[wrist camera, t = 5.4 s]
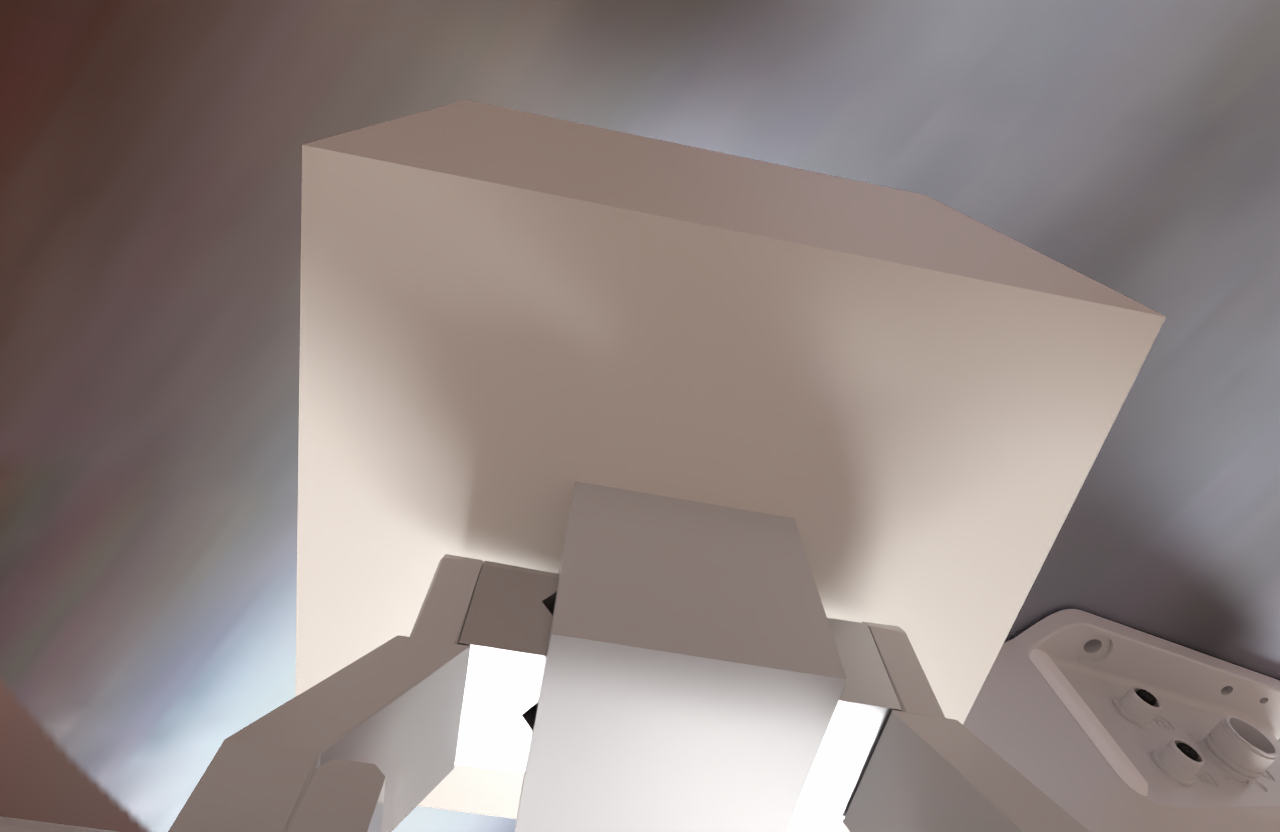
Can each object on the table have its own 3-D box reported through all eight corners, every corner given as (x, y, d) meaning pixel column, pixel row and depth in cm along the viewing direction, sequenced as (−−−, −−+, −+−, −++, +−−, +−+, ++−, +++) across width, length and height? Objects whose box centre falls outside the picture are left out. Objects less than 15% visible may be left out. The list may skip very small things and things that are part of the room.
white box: (925, 195, 17) (1379, 425, 7) (798, 567, 22) (952, 1073, 11) (465, 100, 17) (145, 187, 6) (427, 506, 21) (200, 988, 10)
